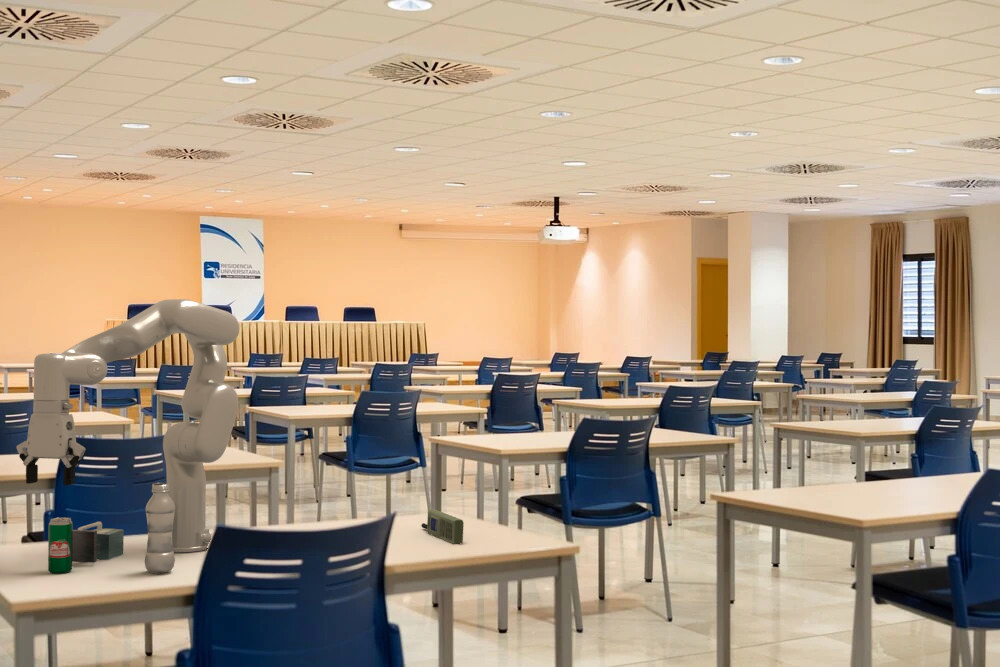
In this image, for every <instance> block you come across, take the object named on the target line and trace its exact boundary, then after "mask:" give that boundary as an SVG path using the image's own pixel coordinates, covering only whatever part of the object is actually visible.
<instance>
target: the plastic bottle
mask: <svg viewBox="0 0 1000 667" xmlns="http://www.w3.org/2000/svg"><path fill="white" fill-rule="evenodd" d="M168 492H169V484H168V483H167V482H156V483H152V485H151V493H152V495H151V497H150V498H149V500H148V501H147V503H146V506H145V515H146V522H147V546H146V552H145V555H144V556H145V557H144V566H145V567H144V568H145V569H146V571H147V572H149V573H155V574H163V573H167V572H170V571H172V570H173V569H174V567H175V563H176V562H175V561H176V558H175V552H174V551H173V542H172V530H173V520H174V513H175V504H174V502H173V500H172V499H171V498H170V496H169V495H168Z"/></svg>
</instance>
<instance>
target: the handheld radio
mask: <svg viewBox="0 0 1000 667" xmlns="http://www.w3.org/2000/svg"><path fill="white" fill-rule="evenodd" d="M426 522H427V523H424V522H423V523H422V524H421V528H423V529H425V530H426V533H427V532H428V533H427V534H429V533H430V534H429V535H431V534H432V535H431V536H433V535H434V537H436V538H438V537H439V538H438V539H440V538H441V539H440V540H443V541H445V542H447V541H448V542H447V543H449V542H450V544H452V545H454V544H458V545H461V544H460V543H462V544H463V542H464V524H465V522H464V521H463V519H461V518H459V517H456V516H453V515H450V514H447V513H445V512H442V511H440V510H437V509H434V508H428V510H427V521H426Z"/></svg>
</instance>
